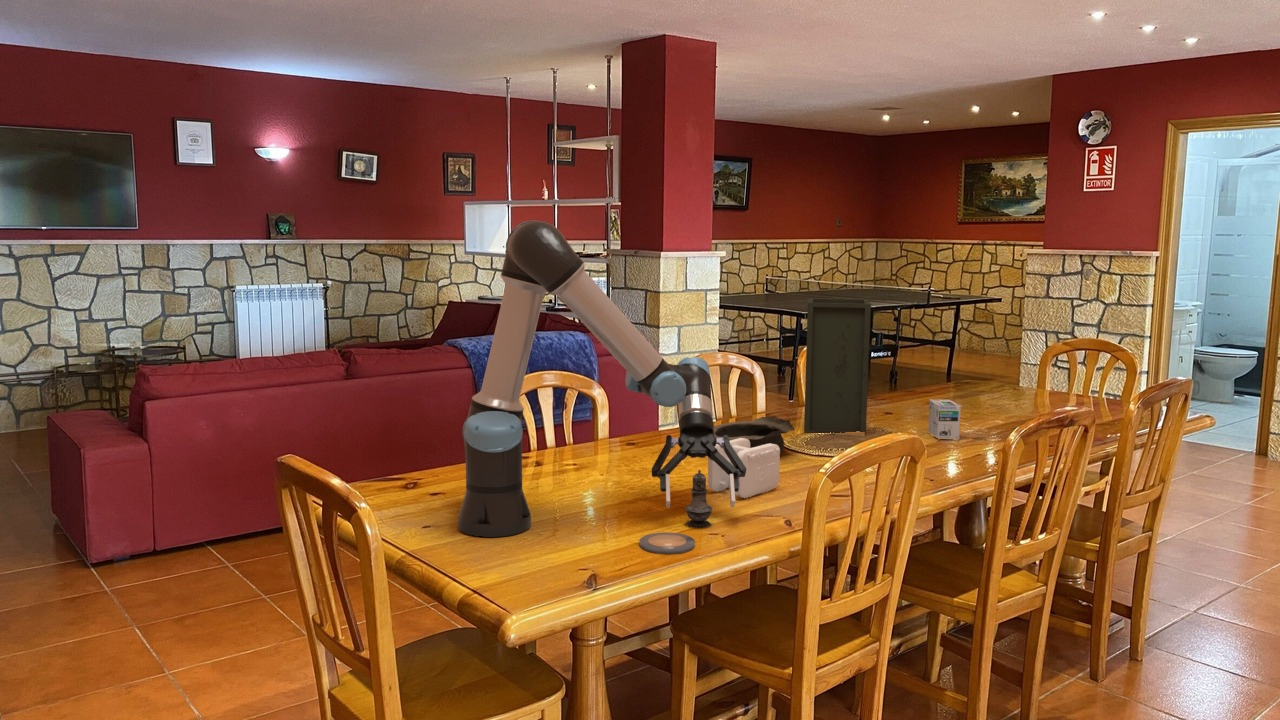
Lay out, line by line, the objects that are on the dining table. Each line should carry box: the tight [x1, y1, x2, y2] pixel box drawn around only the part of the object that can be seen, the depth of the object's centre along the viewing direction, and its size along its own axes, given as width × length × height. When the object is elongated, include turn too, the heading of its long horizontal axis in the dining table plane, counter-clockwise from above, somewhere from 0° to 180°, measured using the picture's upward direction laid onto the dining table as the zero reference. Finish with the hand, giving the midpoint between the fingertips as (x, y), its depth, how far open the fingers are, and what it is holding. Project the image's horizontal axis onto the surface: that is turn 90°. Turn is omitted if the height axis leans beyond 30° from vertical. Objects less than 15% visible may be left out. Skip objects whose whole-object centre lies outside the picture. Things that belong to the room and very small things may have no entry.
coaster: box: [639, 531, 696, 555], centre depth 193 cm, size 11×11×1 cm
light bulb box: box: [927, 398, 962, 440], centre depth 293 cm, size 11×7×11 cm, turn 179°
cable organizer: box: [707, 438, 781, 500], centre depth 231 cm, size 15×11×12 cm
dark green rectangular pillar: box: [803, 298, 872, 434], centre depth 301 cm, size 18×18×40 cm
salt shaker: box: [684, 469, 714, 529], centre depth 205 cm, size 6×6×12 cm
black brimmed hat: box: [713, 416, 796, 455], centre depth 271 cm, size 25×25×9 cm
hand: (700, 504), depth 204 cm, fingers open, 13 cm apart
